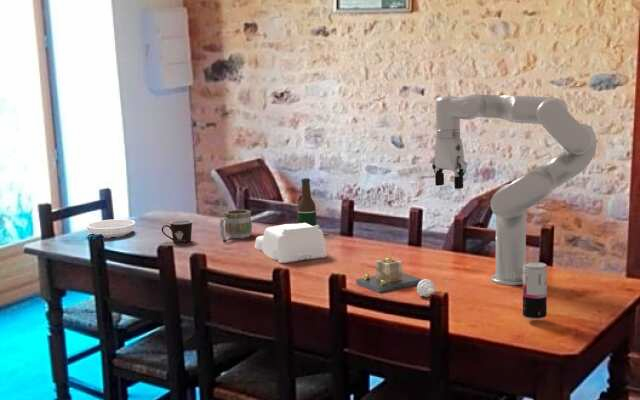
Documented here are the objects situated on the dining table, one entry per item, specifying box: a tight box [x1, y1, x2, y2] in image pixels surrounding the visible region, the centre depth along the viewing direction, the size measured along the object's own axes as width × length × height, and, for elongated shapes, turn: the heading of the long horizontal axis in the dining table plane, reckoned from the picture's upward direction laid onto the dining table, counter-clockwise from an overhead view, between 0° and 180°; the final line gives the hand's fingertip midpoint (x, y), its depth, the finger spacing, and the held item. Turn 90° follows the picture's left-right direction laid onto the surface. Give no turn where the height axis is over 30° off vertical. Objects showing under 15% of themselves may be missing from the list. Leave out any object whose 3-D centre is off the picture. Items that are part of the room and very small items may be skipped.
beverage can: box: [522, 261, 548, 320], centre depth 255 cm, size 6×6×15 cm
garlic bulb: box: [416, 278, 436, 298], centre depth 278 cm, size 6×6×5 cm
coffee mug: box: [161, 219, 193, 244], centre depth 360 cm, size 12×9×10 cm
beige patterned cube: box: [375, 258, 403, 283], centre depth 294 cm, size 6×6×6 cm
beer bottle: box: [297, 177, 317, 226], centre depth 369 cm, size 8×8×24 cm
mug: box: [219, 209, 253, 241], centre depth 364 cm, size 16×11×12 cm
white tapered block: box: [253, 223, 328, 264], centre depth 338 cm, size 19×30×13 cm, turn 24°
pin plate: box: [355, 257, 423, 293], centre depth 294 cm, size 13×17×9 cm
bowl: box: [86, 218, 136, 239], centre depth 375 cm, size 20×20×7 cm
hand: (449, 186), depth 297 cm, fingers open, 9 cm apart
